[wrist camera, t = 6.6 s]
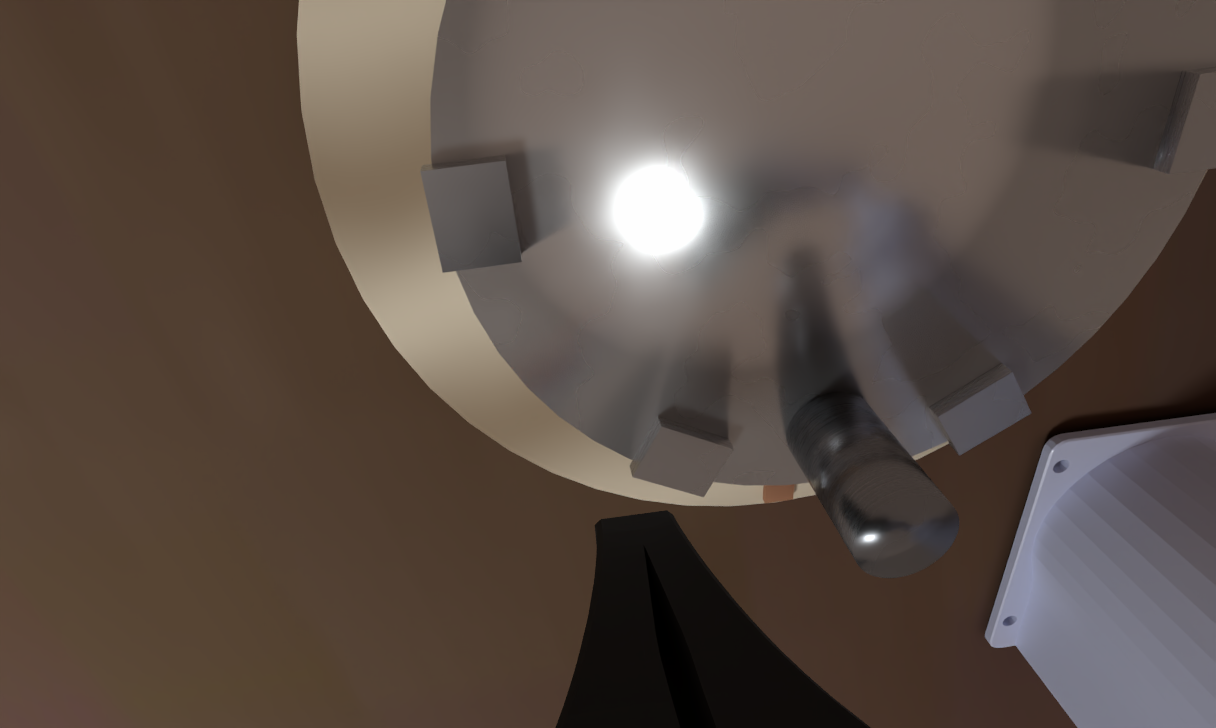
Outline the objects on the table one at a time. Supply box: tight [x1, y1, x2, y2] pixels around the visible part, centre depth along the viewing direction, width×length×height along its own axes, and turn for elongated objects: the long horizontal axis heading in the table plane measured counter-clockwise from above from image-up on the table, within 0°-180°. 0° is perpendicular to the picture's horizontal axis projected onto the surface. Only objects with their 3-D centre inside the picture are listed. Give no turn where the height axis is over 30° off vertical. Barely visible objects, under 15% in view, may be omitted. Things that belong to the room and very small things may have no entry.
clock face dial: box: [420, 0, 1216, 578], centre depth 12 cm, size 15×15×6 cm
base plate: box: [297, 0, 1208, 506], centre depth 16 cm, size 20×20×2 cm
